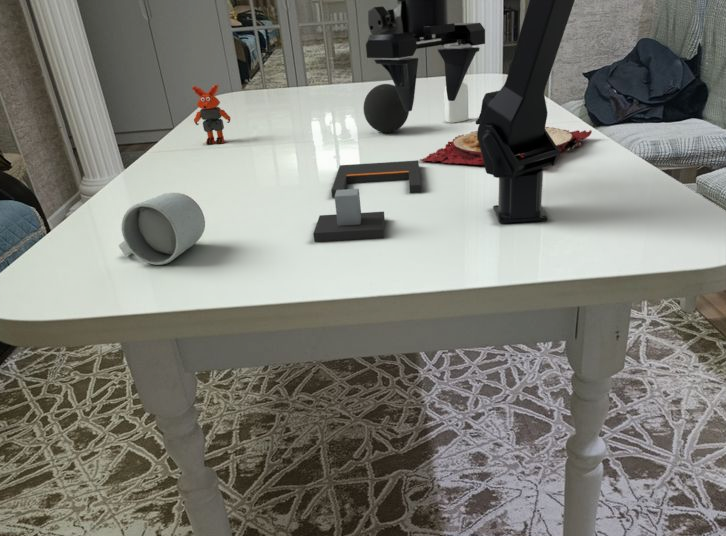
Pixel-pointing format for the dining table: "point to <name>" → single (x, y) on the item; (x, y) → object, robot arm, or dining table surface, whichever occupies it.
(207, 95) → the toy animal
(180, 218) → the ceramic mug
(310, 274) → the dining table surface
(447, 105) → the eye dropper bottle
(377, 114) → the dark grey ball
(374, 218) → the loose pad
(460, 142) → the plate with food
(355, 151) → the dining table surface
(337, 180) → the dock pad
